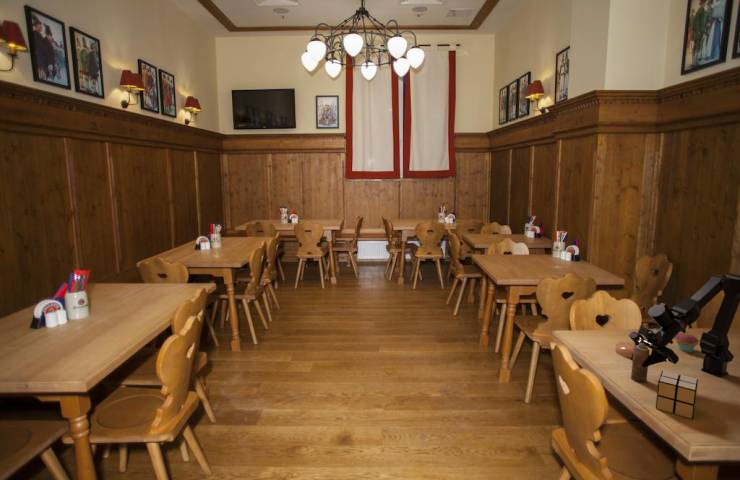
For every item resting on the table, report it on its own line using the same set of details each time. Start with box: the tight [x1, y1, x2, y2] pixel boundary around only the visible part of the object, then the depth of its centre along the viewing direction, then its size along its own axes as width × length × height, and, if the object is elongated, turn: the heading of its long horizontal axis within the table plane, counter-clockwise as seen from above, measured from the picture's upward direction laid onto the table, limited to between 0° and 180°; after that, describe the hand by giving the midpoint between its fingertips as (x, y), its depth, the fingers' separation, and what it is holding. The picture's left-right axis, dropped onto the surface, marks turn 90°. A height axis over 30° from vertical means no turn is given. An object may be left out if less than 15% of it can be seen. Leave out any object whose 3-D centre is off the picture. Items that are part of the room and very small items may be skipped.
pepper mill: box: [630, 343, 651, 384], centre depth 163 cm, size 5×5×14 cm
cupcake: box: [674, 325, 699, 353], centre depth 189 cm, size 9×8×12 cm
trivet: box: [614, 341, 635, 360], centre depth 187 cm, size 12×12×3 cm
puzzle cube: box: [655, 370, 699, 420], centre depth 144 cm, size 10×10×10 cm
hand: (637, 363), depth 163 cm, fingers closed on pepper mill, 5 cm apart
